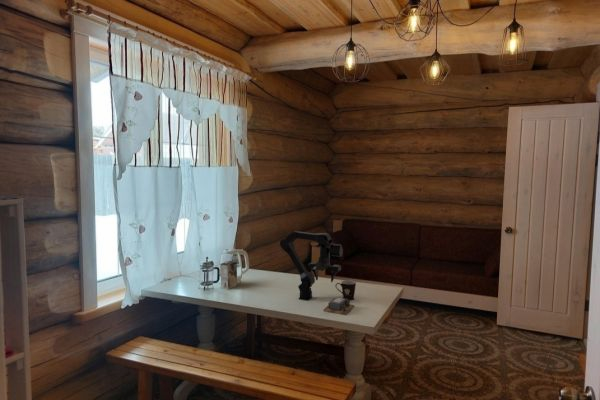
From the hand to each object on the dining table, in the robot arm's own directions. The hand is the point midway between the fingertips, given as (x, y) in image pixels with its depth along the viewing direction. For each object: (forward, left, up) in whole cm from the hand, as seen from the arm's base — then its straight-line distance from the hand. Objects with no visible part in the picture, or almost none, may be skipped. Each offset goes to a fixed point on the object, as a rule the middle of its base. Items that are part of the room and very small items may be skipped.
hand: (324, 281), depth 237 cm
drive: (+12, -8, -11) cm, 18 cm away
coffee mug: (+10, +11, -12) cm, 19 cm away
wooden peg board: (+12, -8, -12) cm, 19 cm away
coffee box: (-66, -1, -12) cm, 67 cm away
